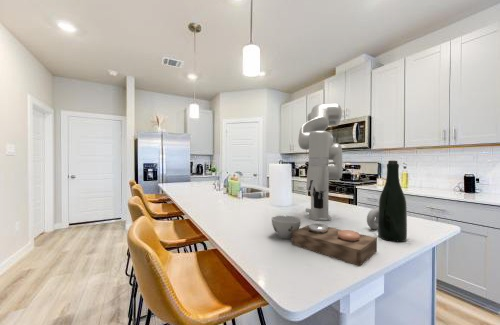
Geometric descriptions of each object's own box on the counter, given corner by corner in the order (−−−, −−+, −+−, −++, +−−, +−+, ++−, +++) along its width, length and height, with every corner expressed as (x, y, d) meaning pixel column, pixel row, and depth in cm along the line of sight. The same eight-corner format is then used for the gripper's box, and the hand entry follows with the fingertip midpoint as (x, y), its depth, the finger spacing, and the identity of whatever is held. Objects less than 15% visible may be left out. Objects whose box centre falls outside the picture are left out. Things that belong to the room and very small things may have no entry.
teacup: (306, 239, 97) (306, 220, 96) (280, 243, 92) (280, 223, 92) (288, 229, 111) (288, 212, 111) (264, 232, 106) (264, 215, 106)
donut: (371, 231, 107) (371, 210, 106) (364, 229, 110) (365, 208, 110) (385, 228, 111) (385, 208, 111) (378, 226, 114) (378, 206, 114)
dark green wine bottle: (405, 236, 100) (406, 160, 100) (407, 244, 91) (408, 160, 91) (378, 232, 106) (379, 160, 105) (377, 239, 97) (378, 160, 96)
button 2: (334, 248, 84) (334, 232, 84) (342, 242, 89) (343, 228, 89) (354, 253, 79) (354, 237, 78) (362, 248, 84) (362, 232, 84)
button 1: (305, 239, 92) (305, 226, 92) (314, 235, 97) (314, 222, 97) (322, 244, 87) (322, 230, 87) (331, 239, 92) (331, 226, 92)
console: (291, 244, 92) (291, 231, 91) (312, 234, 103) (312, 223, 103) (360, 265, 73) (360, 250, 73) (376, 251, 84) (376, 237, 84)
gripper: (319, 161, 100) (319, 203, 101) (299, 162, 89) (299, 209, 90) (336, 161, 94) (335, 206, 95) (317, 163, 84) (317, 213, 85)
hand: (318, 207), depth 93 cm, fingers closed
